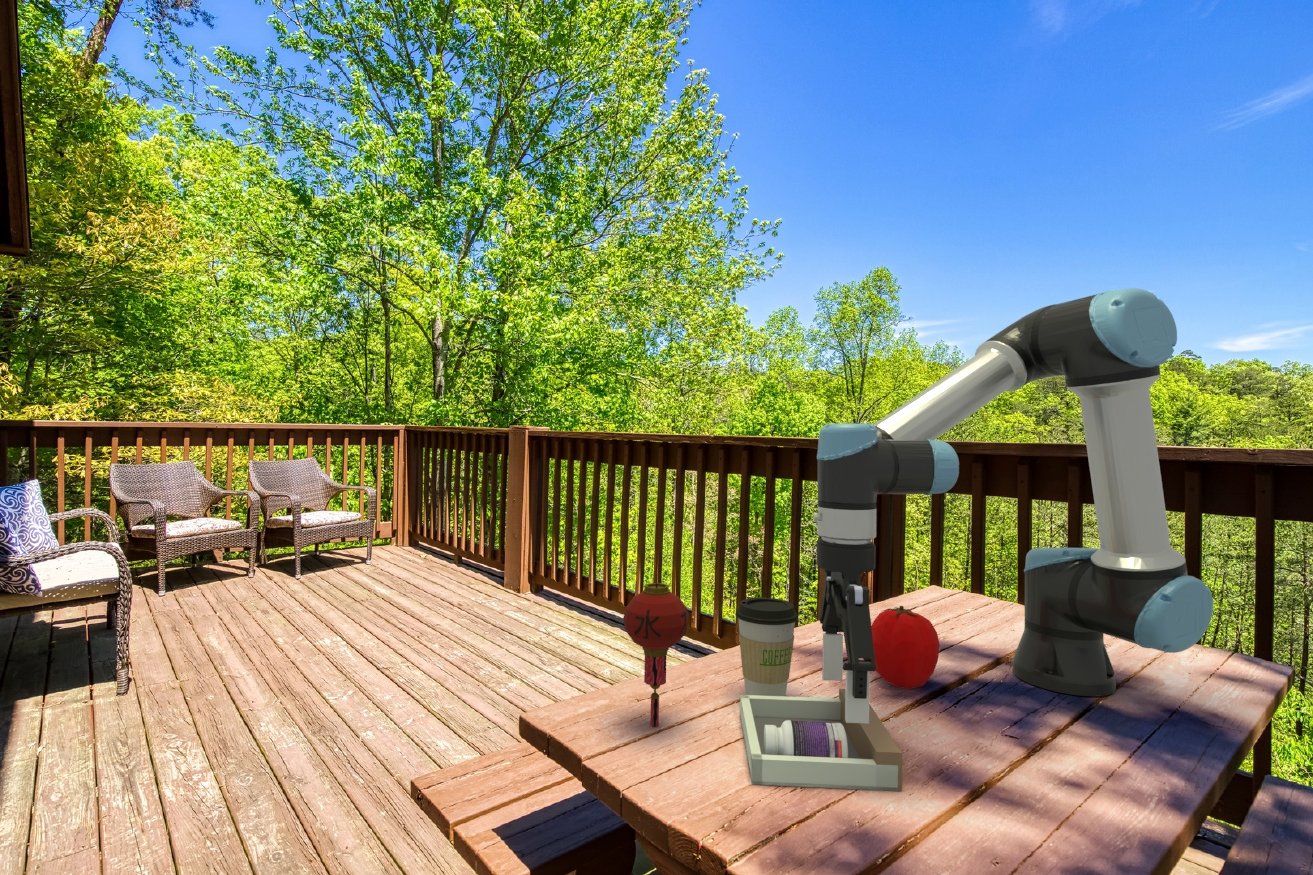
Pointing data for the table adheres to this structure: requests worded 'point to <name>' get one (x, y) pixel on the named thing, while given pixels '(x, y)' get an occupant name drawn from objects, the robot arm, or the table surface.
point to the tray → (865, 768)
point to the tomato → (904, 647)
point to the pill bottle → (806, 739)
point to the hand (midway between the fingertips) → (843, 699)
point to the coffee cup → (766, 644)
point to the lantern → (655, 630)
